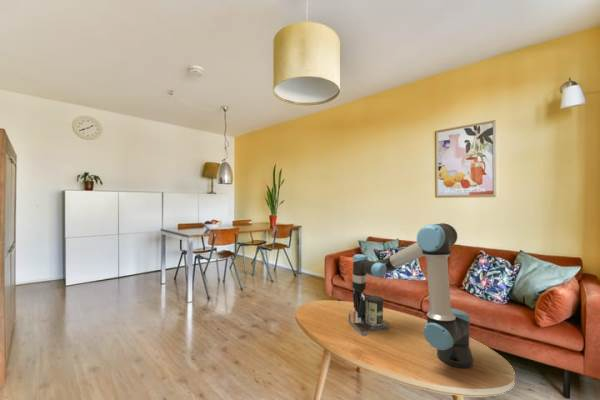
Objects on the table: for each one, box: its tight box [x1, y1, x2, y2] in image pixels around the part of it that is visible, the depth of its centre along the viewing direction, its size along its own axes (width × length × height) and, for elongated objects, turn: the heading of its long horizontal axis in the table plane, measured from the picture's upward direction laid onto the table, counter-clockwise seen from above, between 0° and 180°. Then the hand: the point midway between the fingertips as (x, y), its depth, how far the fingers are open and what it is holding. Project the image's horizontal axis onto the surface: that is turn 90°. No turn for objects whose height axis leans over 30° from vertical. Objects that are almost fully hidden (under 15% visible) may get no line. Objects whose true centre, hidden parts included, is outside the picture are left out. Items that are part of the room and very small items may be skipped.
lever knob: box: [349, 308, 356, 324], centre depth 165 cm, size 4×4×7 cm
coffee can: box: [365, 295, 384, 326], centre depth 166 cm, size 10×10×14 cm
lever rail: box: [348, 313, 368, 337], centre depth 162 cm, size 18×3×5 cm, turn 15°
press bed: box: [360, 295, 389, 332], centre depth 168 cm, size 16×12×14 cm
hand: (358, 322), depth 161 cm, fingers closed
